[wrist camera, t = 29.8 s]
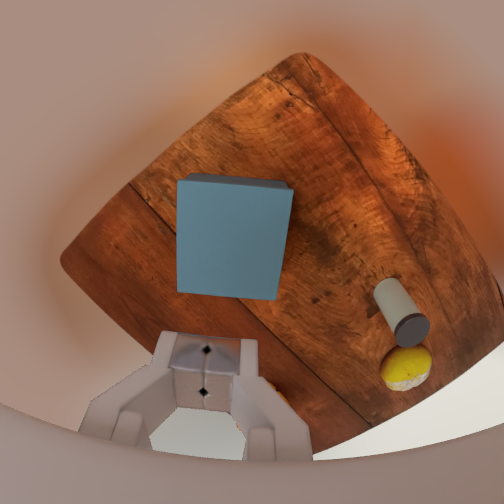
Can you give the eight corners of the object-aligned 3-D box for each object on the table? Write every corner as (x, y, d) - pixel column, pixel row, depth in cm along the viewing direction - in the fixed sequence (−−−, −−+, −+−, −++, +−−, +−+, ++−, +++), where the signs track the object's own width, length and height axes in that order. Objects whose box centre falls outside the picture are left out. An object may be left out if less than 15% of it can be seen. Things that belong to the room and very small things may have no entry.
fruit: (368, 381, 58) (383, 402, 50) (383, 335, 56) (401, 351, 48) (412, 381, 58) (429, 399, 50) (427, 337, 57) (447, 352, 49)
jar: (395, 270, 47) (424, 309, 37) (406, 293, 49) (434, 333, 39) (367, 289, 49) (390, 332, 39) (380, 310, 51) (402, 353, 41)
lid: (179, 178, 34) (177, 180, 33) (292, 188, 35) (293, 190, 34) (178, 288, 41) (177, 291, 40) (275, 297, 41) (276, 300, 40)
